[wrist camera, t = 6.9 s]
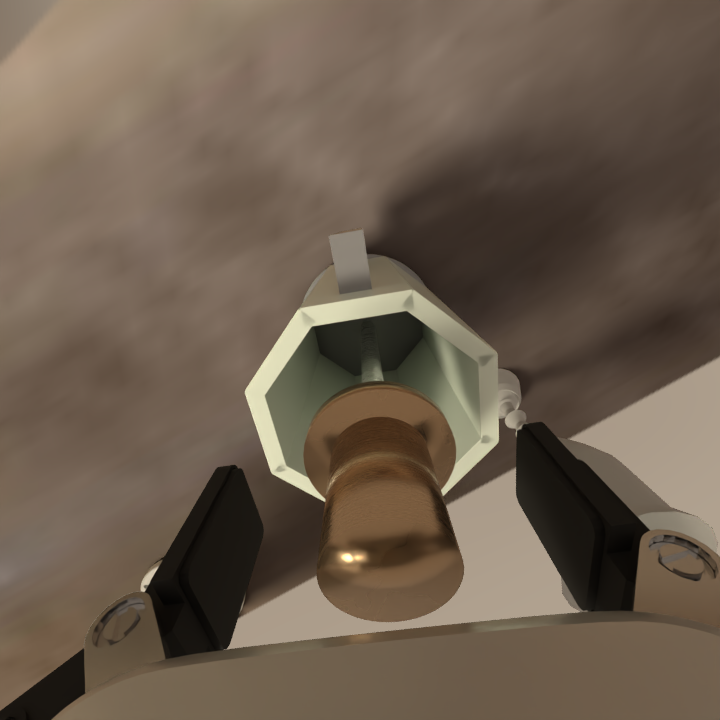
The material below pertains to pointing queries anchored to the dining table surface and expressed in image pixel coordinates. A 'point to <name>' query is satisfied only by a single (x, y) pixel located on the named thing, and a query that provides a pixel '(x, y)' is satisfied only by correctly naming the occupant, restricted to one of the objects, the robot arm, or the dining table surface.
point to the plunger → (383, 497)
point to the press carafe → (397, 355)
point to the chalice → (609, 478)
